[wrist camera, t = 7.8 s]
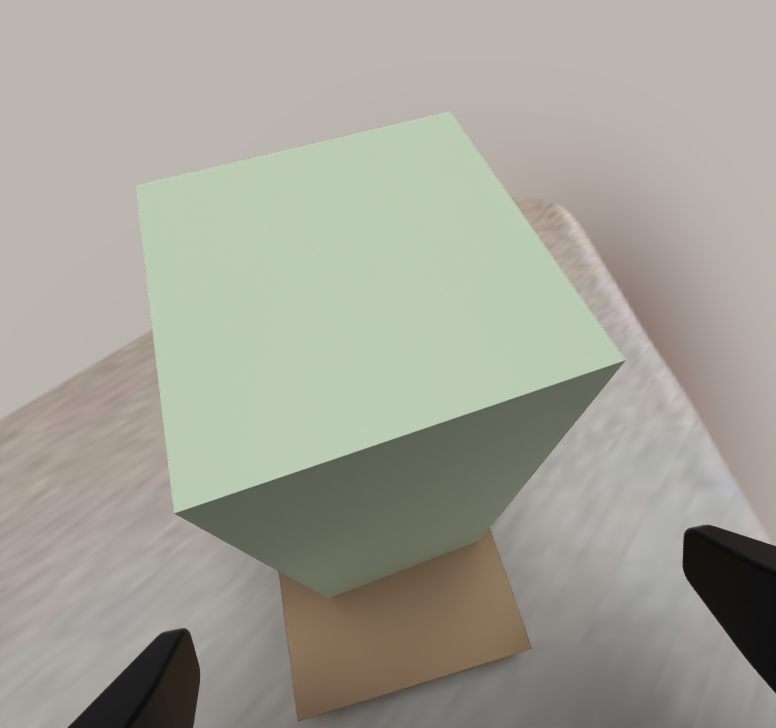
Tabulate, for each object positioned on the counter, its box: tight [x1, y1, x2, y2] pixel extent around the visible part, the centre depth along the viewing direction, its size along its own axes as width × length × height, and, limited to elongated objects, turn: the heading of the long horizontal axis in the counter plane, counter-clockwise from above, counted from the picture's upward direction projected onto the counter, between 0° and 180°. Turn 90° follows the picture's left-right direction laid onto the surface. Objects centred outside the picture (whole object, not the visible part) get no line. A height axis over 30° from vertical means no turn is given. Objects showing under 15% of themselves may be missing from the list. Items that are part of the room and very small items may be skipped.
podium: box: [279, 528, 532, 721], centre depth 18 cm, size 9×8×2 cm
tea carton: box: [136, 111, 625, 599], centre depth 12 cm, size 6×6×12 cm
